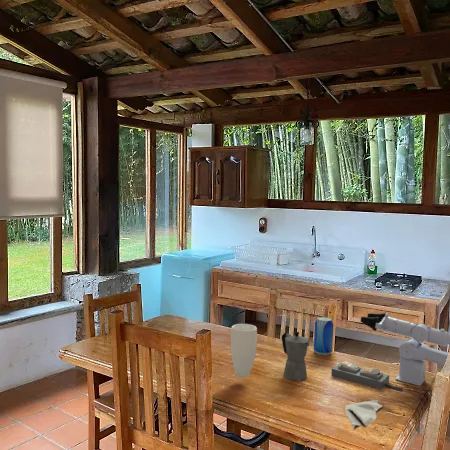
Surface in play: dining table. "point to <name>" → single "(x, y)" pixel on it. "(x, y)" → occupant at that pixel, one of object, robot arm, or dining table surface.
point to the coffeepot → (295, 356)
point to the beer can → (323, 336)
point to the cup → (243, 348)
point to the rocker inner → (371, 371)
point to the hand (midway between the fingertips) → (364, 317)
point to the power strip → (363, 377)
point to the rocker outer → (349, 365)
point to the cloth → (362, 412)
